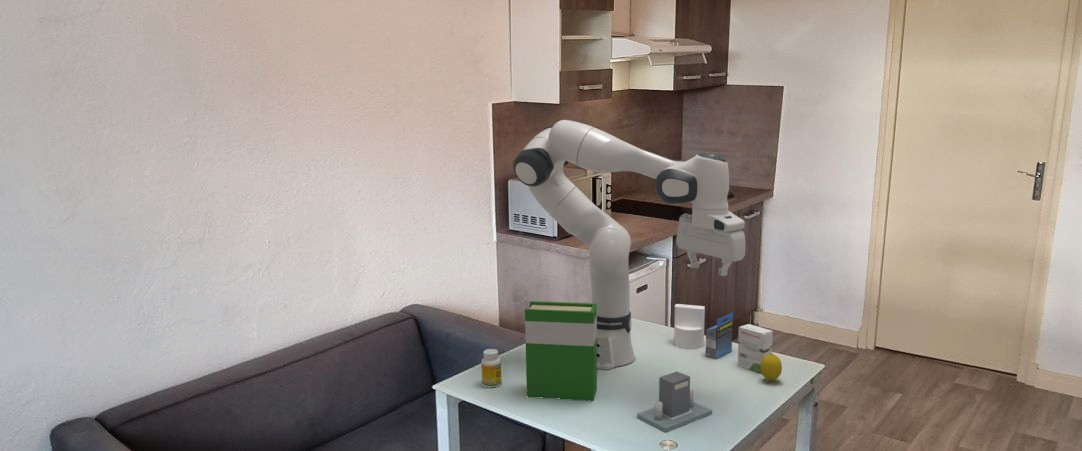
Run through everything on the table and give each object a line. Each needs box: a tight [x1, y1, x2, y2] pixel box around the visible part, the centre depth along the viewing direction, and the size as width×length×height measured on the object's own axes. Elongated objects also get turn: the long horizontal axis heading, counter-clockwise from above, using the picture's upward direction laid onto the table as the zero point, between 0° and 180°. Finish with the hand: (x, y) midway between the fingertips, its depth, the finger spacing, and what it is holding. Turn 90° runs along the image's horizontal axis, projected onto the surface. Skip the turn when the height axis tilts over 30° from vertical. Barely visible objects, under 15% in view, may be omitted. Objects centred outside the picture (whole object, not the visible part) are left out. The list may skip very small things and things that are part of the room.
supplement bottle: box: [480, 348, 503, 388], centre depth 217 cm, size 5×5×10 cm
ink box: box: [737, 323, 774, 374], centre depth 225 cm, size 9×5×12 cm, turn 39°
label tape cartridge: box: [704, 312, 734, 360], centre depth 235 cm, size 9×4×12 cm, turn 136°
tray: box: [636, 389, 713, 433], centre depth 196 cm, size 16×10×5 cm, turn 126°
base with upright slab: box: [673, 303, 706, 350], centre depth 244 cm, size 9×9×12 cm
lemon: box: [760, 352, 783, 382], centre depth 215 cm, size 6×6×8 cm
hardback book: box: [524, 300, 598, 402], centre depth 209 cm, size 18×7×24 cm, turn 80°
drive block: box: [658, 371, 691, 418], centre depth 196 cm, size 6×5×9 cm
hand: (708, 271), depth 203 cm, fingers open, 8 cm apart
